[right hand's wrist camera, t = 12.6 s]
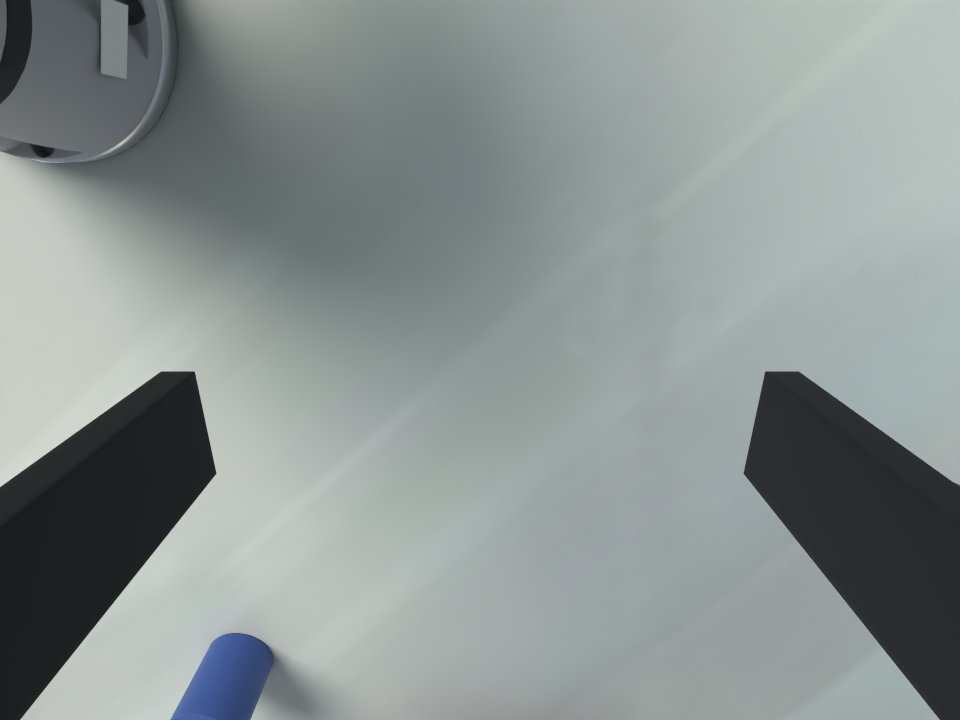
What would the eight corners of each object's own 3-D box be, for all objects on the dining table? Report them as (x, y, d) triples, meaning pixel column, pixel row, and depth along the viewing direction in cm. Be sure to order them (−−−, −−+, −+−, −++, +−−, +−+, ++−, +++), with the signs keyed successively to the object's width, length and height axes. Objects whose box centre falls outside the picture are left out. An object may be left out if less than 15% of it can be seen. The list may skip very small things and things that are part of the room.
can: (195, 653, 49) (148, 736, 42) (237, 623, 48) (196, 704, 41) (244, 688, 51) (206, 773, 44) (286, 659, 50) (254, 743, 43)
